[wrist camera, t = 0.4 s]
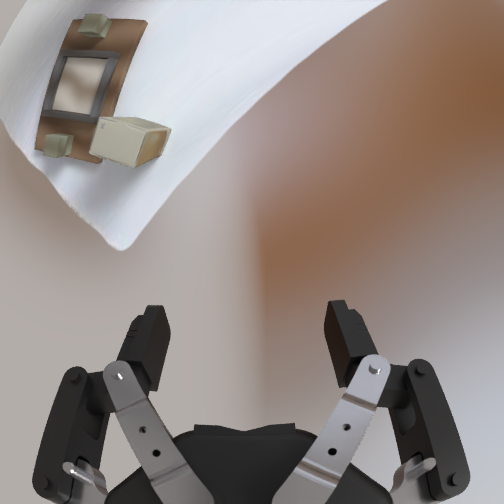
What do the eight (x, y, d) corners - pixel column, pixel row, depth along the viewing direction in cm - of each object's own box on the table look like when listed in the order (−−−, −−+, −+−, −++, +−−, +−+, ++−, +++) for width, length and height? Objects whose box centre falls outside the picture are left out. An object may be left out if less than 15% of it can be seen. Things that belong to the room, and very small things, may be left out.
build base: (77, 21, 24) (60, 13, 19) (147, 23, 27) (136, 11, 22) (39, 147, 33) (20, 152, 28) (101, 162, 36) (84, 168, 31)
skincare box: (125, 143, 35) (85, 153, 24) (135, 116, 33) (96, 115, 22) (163, 156, 36) (134, 170, 25) (174, 129, 35) (147, 130, 24)
